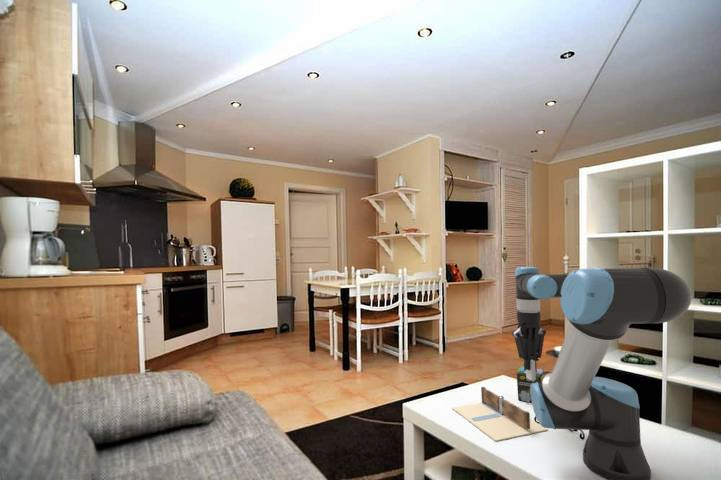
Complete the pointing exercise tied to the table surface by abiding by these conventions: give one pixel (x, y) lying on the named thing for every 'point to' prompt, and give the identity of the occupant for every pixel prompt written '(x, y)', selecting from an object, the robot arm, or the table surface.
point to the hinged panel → (516, 414)
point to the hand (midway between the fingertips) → (531, 378)
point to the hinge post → (501, 405)
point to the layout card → (495, 422)
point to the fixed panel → (490, 398)
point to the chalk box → (527, 383)
